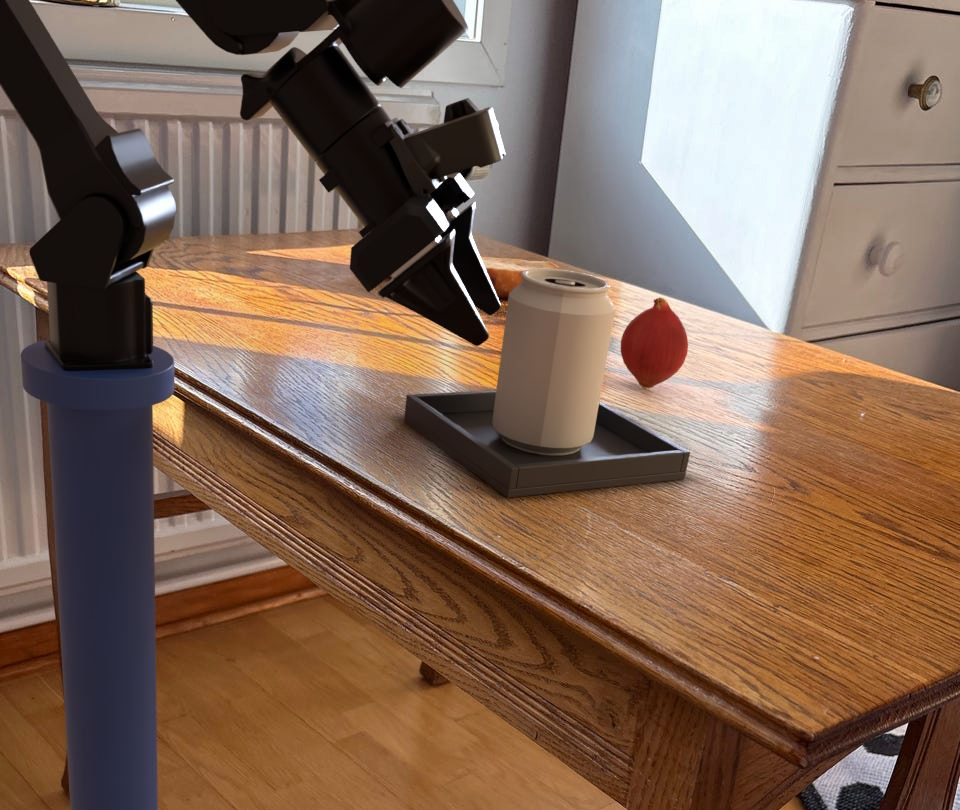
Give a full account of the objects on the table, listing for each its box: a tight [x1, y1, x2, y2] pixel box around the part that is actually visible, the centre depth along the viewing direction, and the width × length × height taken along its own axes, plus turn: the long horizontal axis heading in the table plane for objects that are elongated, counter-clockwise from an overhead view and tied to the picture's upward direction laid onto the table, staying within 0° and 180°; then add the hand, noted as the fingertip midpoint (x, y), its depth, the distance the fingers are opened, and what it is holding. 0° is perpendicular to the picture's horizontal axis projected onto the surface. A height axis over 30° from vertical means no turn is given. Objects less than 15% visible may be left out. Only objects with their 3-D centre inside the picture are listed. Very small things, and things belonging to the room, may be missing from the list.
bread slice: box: [389, 256, 562, 299], centre depth 131 cm, size 18×18×4 cm
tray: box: [403, 389, 691, 499], centre depth 86 cm, size 15×15×2 cm
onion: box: [620, 296, 689, 390], centre depth 103 cm, size 6×6×8 cm
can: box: [492, 268, 617, 456], centre depth 83 cm, size 8×8×12 cm
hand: (490, 326), depth 83 cm, fingers open, 9 cm apart
